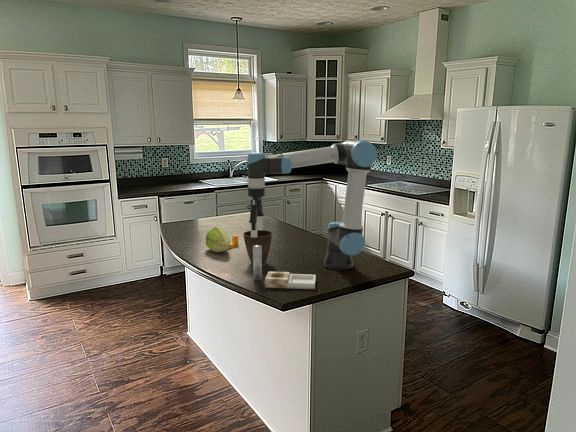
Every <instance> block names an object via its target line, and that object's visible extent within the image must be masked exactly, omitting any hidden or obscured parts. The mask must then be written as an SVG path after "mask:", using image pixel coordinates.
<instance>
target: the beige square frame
mask: <svg viewBox="0 0 576 432" xmlns="http://www.w3.org/2000/svg"><path fill="white" fill-rule="evenodd" d="M290 274H291V272H290V271H268V272H267V274H266V276H265V277H264V288H271V289H272V288H275V289H289V288H288V279H289V276H290Z"/></svg>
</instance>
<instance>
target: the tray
mask: <svg viewBox="0 0 576 432" xmlns="http://www.w3.org/2000/svg"><path fill="white" fill-rule="evenodd" d="M316 275H317V274H311V273H310V274H309V273H307V274H305V273H302V274H301V273H290V276H289V279H288V288H287V289H303V290H315V289H316V280H317V276H316Z"/></svg>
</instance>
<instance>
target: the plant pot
mask: <svg viewBox="0 0 576 432" xmlns="http://www.w3.org/2000/svg"><path fill="white" fill-rule="evenodd" d="M272 238H273V232H272V231H269V230H263V229H262V230H257V237H251V230H248V231H245V232H243V239H244V244H245V248H246V251H247V252H246V253H247V255H248V259H249V260H250V263H251V264H252V265H253V246H254V245H261V246H262V265H264V264H266V263H267V260H268V256H269V254H270V249H271V243H272Z"/></svg>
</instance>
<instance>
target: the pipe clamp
mask: <svg viewBox="0 0 576 432" xmlns="http://www.w3.org/2000/svg"><path fill="white" fill-rule="evenodd" d="M237 246H239V235H237V234H234V235H232V239H230V244H229V247H228V249H227V250H230V249H234V247H237Z"/></svg>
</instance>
